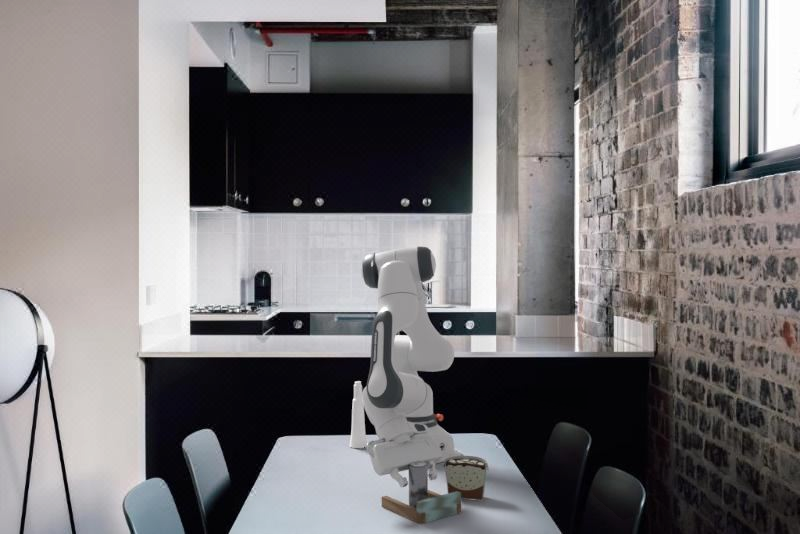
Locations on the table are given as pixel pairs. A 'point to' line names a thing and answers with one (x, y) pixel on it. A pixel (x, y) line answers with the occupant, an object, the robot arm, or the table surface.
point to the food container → (466, 476)
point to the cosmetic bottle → (358, 419)
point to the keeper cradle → (426, 507)
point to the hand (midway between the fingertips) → (419, 482)
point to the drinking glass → (418, 482)
